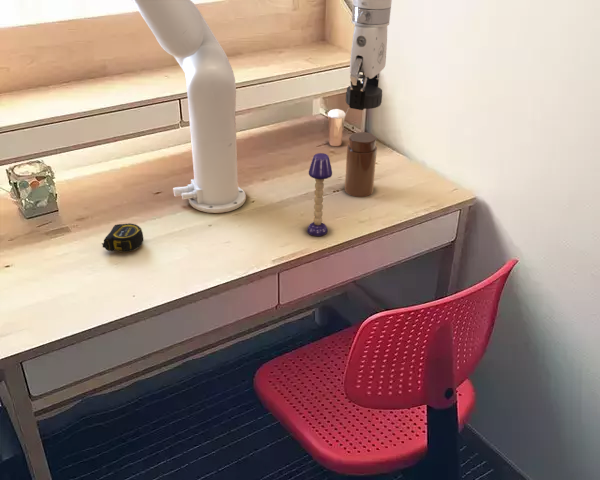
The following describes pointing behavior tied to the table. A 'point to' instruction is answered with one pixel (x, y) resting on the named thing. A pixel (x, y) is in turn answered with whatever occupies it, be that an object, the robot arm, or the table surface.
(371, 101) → the cap
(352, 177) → the jar
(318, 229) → the toy lamp
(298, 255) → the table surface
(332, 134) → the milkshake
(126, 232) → the tape measure
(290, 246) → the table surface
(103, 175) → the table surface
